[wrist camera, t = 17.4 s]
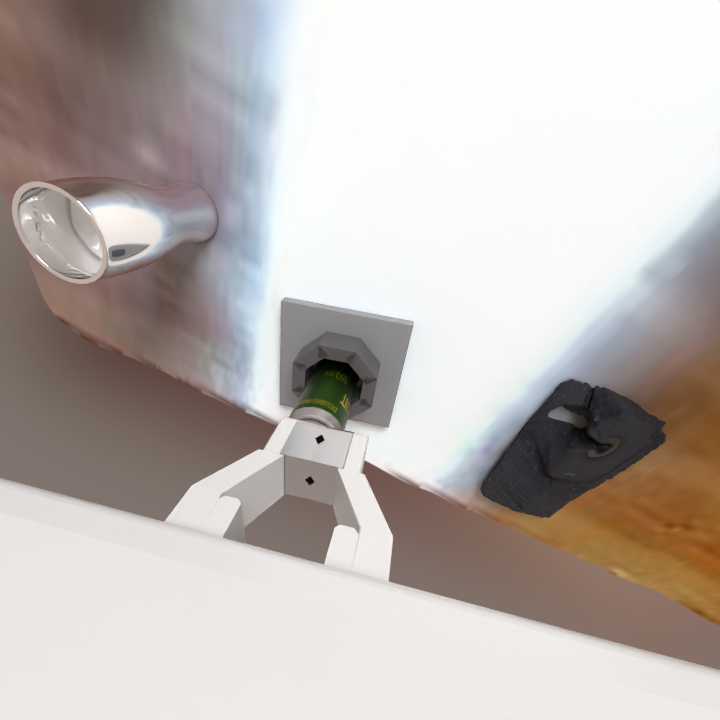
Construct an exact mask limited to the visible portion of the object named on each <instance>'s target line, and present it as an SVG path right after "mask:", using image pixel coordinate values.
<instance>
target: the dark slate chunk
mask: <svg viewBox="0 0 720 720" xmlns="http://www.w3.org/2000/svg"><path fill="white" fill-rule="evenodd" d="M589 391H590V392H589ZM591 391H593V392H591ZM558 406H564V407H565V408H566V409H569V410H571V411H573V412H576V413H577V414H579V415H584V417H586V420H587V427H584V428H583V429H580V428H575V427H573V425H572V424H570V423H567V422H564V421H559V420H555V419H552V418H549V417H548V413H549V412H550V411H551V410H553V409H555V408H556V407H558ZM664 425H665V422H664V421H661V420H658V418H657V417H655V416H652V415H650V414H648V413H647V412H645V411H644V410H643V409H642V408H641V407H640V406H639V405H638V404H636V403H635V402H633V401H631V400H629V399H628V398H626V397H624V396H621V395H619V394H617V393H615V392H613V391H611V390H609V389H606V388H601V389H600V388H599V387H598V386H596V387H595V388H591V386H590V385H589V384H587V383H584V384H582V383H581V382H579V381H575V380H574V379H571V380H569V381H566V382H563V383H561V384H560V386H559V387H558V388H557V389H556V392H555V393H554V394H553V395H552V396H551V397H550V398H549V399H548V401H547V402H546V403H545V404H544V405H543V406H542V408H540V409H539V410H538V412H537V413H536V414H535V415H534V416H533V417H532V418H531V419H530V420H529V422H528V423H527V424H526V425H525V427H524V428H523V430H522V431H521V432H520V433H519V436H518V437H517V438H516V439H515V441H514V443H513V445H512V446H511V447H510V448H509V449H508V450H507V451H506V452H505V455H504V456H503V457H502V458H501V459H500V461H499V463H498V465H497V466H496V467H495V468H494V470H493V472H492V474H491V475H490V476H489V477H488V478H487V479H486V480H485V481H484V483H483V485H482V487H481V492H482V494H483V495H484V496H485V497H487V498H489V499H490V500H492V501H494V502H497V503H499V504H501V505H503V506H506V507H508V508H510V509H511V510H513V511H517V512H522V513H526V514H531V515H535V516H539V517H548V518H549V517H551V516H552V515H553V514H554V513H556V512H557V511H558V510H560V509H561V508H562V507H564V506H565V505H566V504H567V503H568V502H569V501H571V500H574V499H575V498H577V497H579V496H580V495H582V494H583V493H585V492H586V491H588V490H590V489H593V488H595V487H597V486H599V485H600V484H601V483H603V482H605V481H606V480H607V479H612V478H613V477H614V476H615V475H617V474H618V473H620V472H622V471H624V470H626V469H627V468H628V467H630V466H631V465H632V464H634V463H636V462H637V461H639V460H640V459H642V458H643V457H644V456H646V455H647V454H649V452H650V451H652V450H655V449H657V448H658V447H659V445H661V444H663V443H664V442H665V437H666V435H665V434H664V433H662V431H661V429H662V427H663V426H664Z"/></svg>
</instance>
